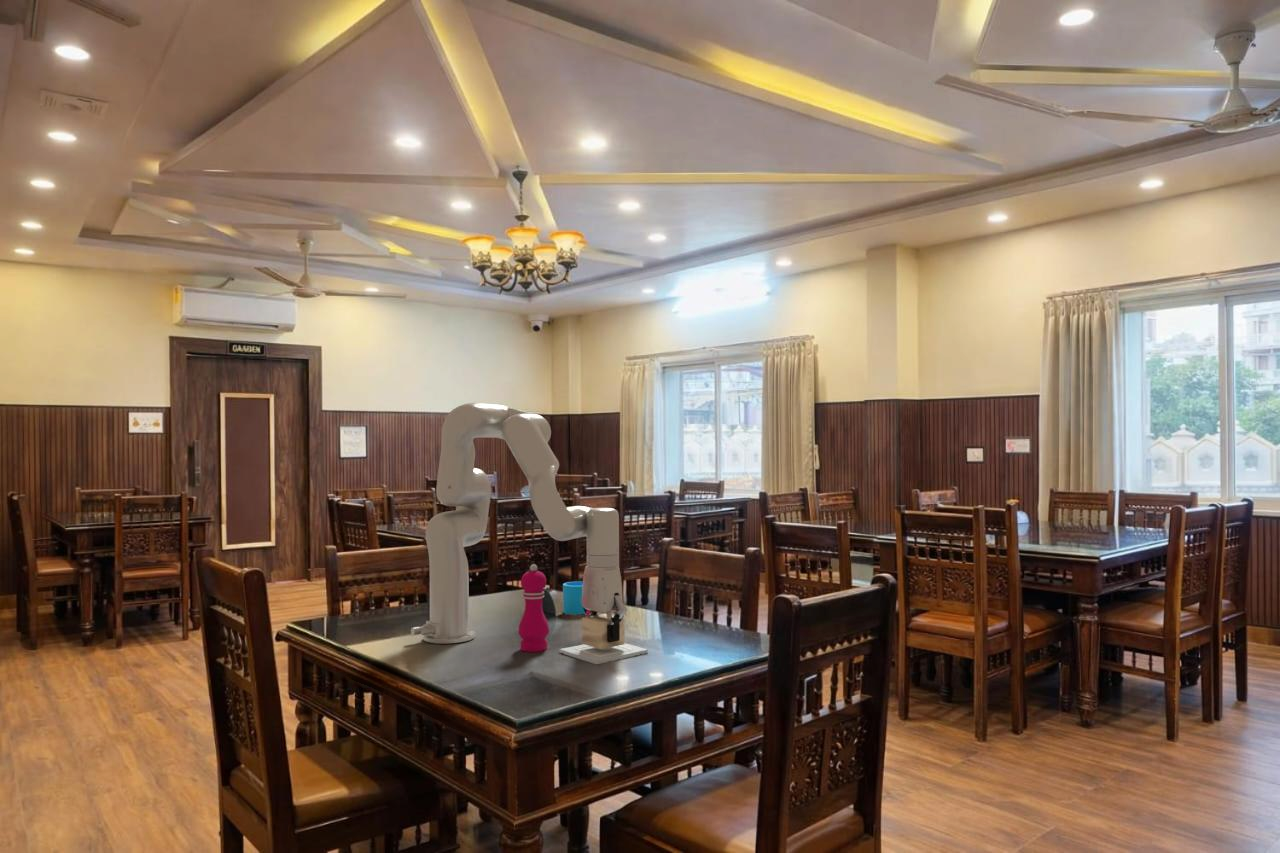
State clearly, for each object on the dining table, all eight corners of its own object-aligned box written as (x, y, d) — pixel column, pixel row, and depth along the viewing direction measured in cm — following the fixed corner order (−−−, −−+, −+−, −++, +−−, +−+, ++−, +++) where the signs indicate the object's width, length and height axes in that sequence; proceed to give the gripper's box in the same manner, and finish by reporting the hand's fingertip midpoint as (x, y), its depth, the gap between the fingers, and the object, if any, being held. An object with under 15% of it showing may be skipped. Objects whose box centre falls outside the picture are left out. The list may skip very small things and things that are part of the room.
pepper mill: (550, 645, 204) (549, 561, 204) (548, 652, 197) (547, 566, 197) (520, 645, 204) (519, 562, 204) (516, 652, 196) (516, 566, 197)
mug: (574, 616, 237) (574, 587, 237) (557, 612, 243) (557, 583, 243) (607, 610, 245) (607, 582, 245) (590, 606, 251) (590, 579, 251)
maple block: (600, 649, 191) (600, 622, 191) (582, 643, 196) (582, 617, 196) (624, 644, 196) (624, 618, 196) (605, 639, 201) (605, 613, 201)
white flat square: (596, 664, 186) (596, 660, 186) (559, 652, 196) (559, 648, 196) (647, 653, 195) (647, 649, 195) (610, 642, 206) (610, 638, 206)
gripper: (567, 559, 200) (568, 634, 200) (613, 567, 187) (613, 648, 187) (593, 556, 205) (593, 629, 205) (639, 563, 192) (639, 642, 192)
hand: (603, 637), depth 196 cm, fingers closed on maple block, 6 cm apart
